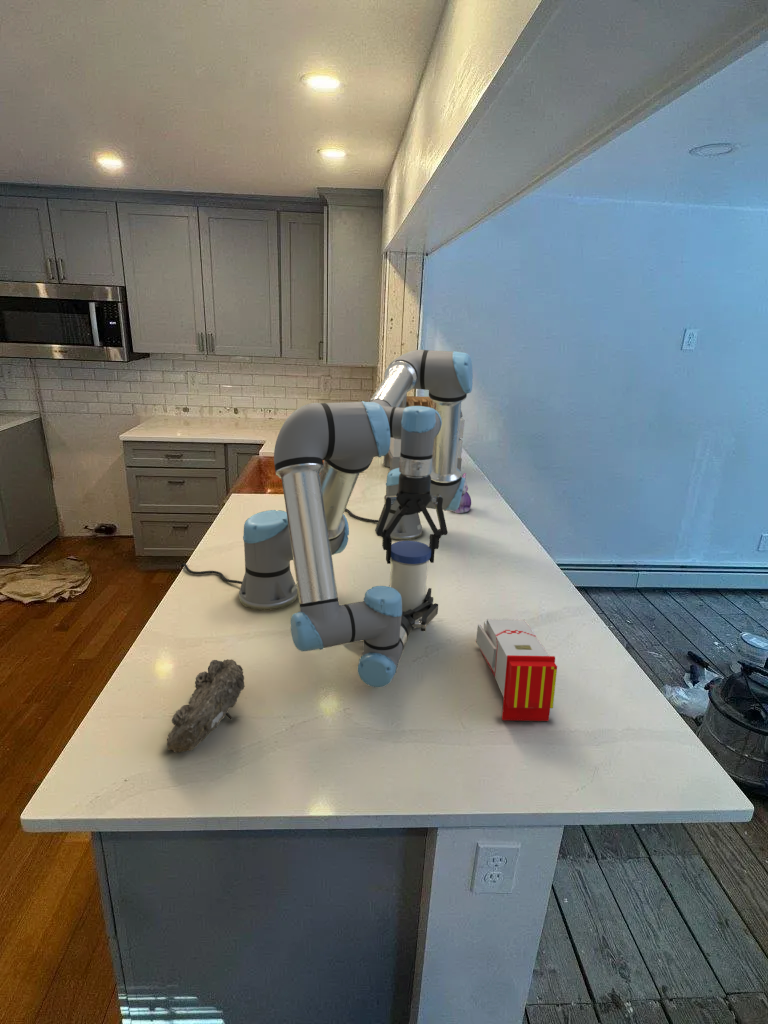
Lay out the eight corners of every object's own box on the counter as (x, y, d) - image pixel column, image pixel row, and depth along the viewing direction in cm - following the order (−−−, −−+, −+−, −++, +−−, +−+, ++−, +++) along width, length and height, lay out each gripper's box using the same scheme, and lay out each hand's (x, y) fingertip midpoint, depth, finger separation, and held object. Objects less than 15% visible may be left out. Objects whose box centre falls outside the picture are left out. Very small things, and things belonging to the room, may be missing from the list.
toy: (523, 604, 135) (566, 662, 106) (518, 656, 138) (559, 727, 109) (472, 603, 135) (501, 661, 105) (468, 655, 138) (496, 726, 108)
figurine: (457, 515, 220) (461, 478, 215) (443, 507, 229) (446, 471, 224) (477, 512, 224) (481, 475, 219) (462, 504, 233) (466, 469, 228)
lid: (417, 568, 132) (418, 561, 132) (381, 556, 137) (381, 550, 137) (438, 554, 141) (438, 547, 140) (402, 543, 146) (403, 537, 145)
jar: (380, 618, 145) (383, 550, 139) (404, 606, 151) (409, 541, 145) (406, 633, 139) (411, 562, 133) (431, 620, 145) (437, 552, 139)
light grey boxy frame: (382, 463, 289) (386, 382, 275) (445, 464, 293) (451, 384, 279) (390, 482, 257) (394, 392, 243) (460, 483, 261) (468, 394, 247)
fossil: (192, 660, 117) (244, 628, 112) (224, 691, 120) (276, 661, 115) (142, 746, 98) (202, 712, 93) (182, 779, 101) (242, 748, 96)
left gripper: (343, 641, 130) (369, 596, 151) (438, 657, 126) (451, 609, 146) (344, 612, 128) (370, 570, 148) (441, 628, 123) (454, 583, 144)
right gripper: (368, 478, 127) (365, 568, 134) (466, 478, 130) (458, 566, 138) (365, 469, 134) (362, 555, 141) (458, 469, 137) (450, 553, 145)
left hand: (410, 590), depth 147 cm, fingers closed on jar, 9 cm apart
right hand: (409, 561), depth 140 cm, fingers closed on lid, 10 cm apart
